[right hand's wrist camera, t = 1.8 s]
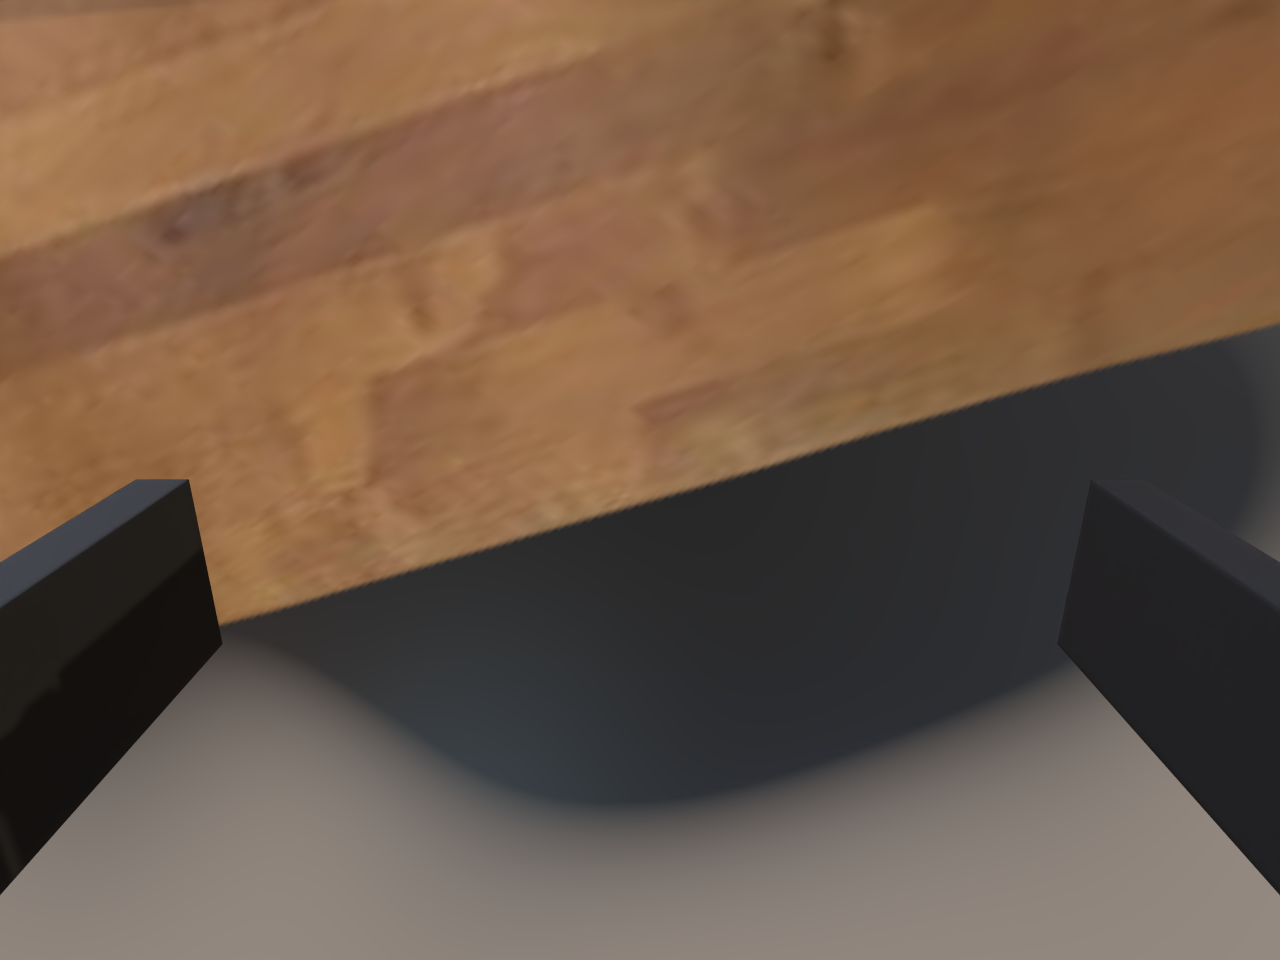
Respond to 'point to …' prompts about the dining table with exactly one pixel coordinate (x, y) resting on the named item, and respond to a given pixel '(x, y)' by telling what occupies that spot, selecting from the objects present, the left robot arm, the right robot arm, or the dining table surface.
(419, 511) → the dining table surface
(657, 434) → the dining table surface
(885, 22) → the dining table surface
